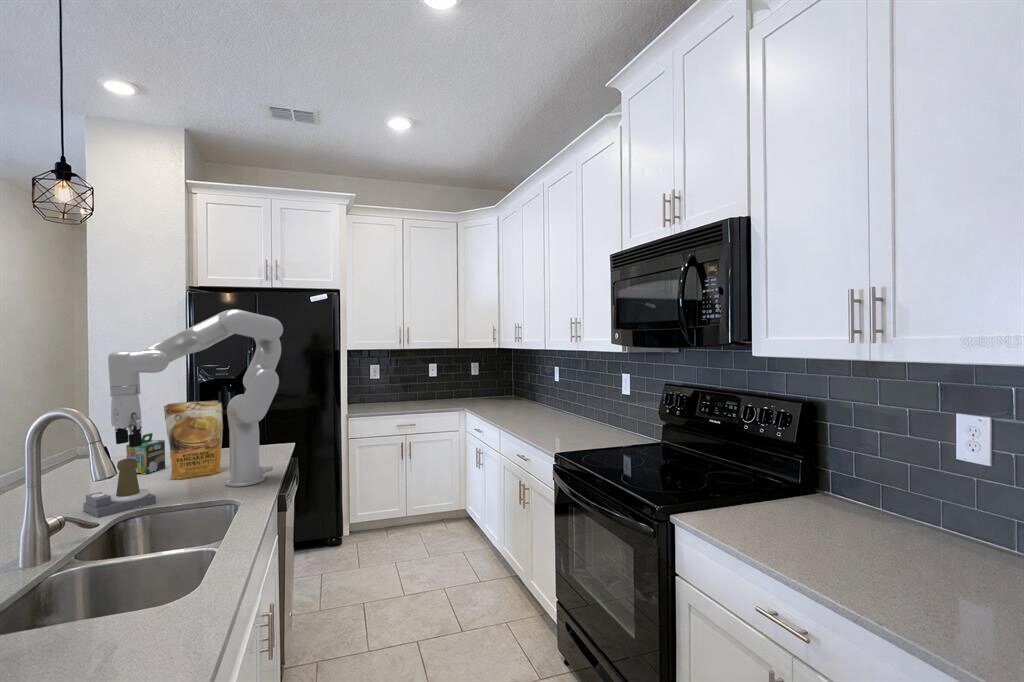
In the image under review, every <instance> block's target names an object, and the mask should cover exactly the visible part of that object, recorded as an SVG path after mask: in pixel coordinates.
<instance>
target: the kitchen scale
mask: <svg viewBox="0 0 1024 682" xmlns="http://www.w3.org/2000/svg"><path fill="white" fill-rule="evenodd" d="M139 490H140V493H138V494H135V495H131V496H125V497H117V496H116V493H117V491H116V492H112V493H110V494H106V493H103V492H101V491H99V492H94V493H90V494H86V495H85V502H83V507H82V508H83V512H85V513H87V512H88V513H87V514H89V513H90V514H89V515H91V514H92V516H93V515H95V516H97V517H98V518H101V517H100V516H102V517H105V516H104V515H106V516H109V515H108V514H110V515H113V513H114V514H117V513H116V512H118V513H121V512H120V511H122V512H124V510H126V511H129V510H128V509H130V510H132V509H131V508H134V509H136V508H135V507H138V508H140V507H139V506H142V507H144V506H143V505H145V506H148V504H149V505H152V504H151V503H153V504H156V503H157V501H156V500H157V496H156V494H154V493H150V490H149V489H148V488H139ZM155 502H156V503H155ZM95 516H94V517H95ZM97 517H96V518H97Z"/></svg>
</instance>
